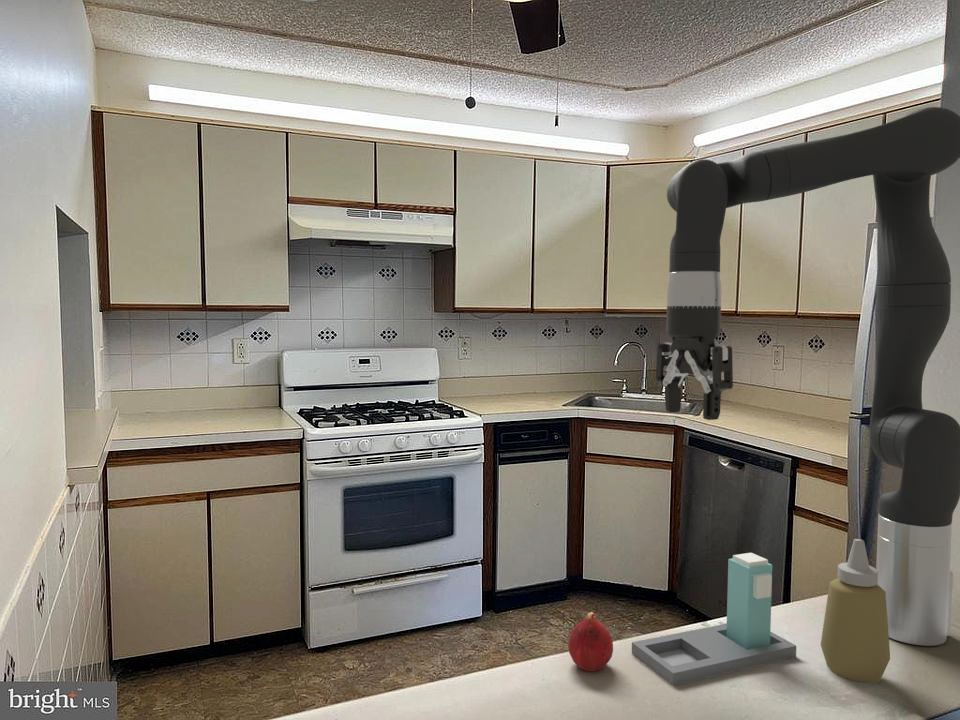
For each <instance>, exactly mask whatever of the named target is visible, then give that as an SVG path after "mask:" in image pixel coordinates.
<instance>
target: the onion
mask: <svg viewBox="0 0 960 720" xmlns="http://www.w3.org/2000/svg"><path fill="white" fill-rule="evenodd" d="M569 634H570V635H569V637H568V646H567V647H568V652H569V655H570V658H571V659H572V661H573V663H574V664H575V665H576V666H577V667H578V668H580V669H581V670H583V671H584V672H585V671H586V672H598V671H600V670H601V669H603V668H604V667H605V666H606V665H607V664H608V663H609V662H610V660H611V658H612V657H613V653H614V644H613V643H614V642H613V638H612V635H611V632H610V631H609V630H608V628H607V627H606V626H605V625H604V624H603V623H602V622H601V621H599V620H598V619H597V614H595V613H594V612H593V611H591V612H588V613H587V616H586V617H585V619H583V620H582V621H580V622H578V623H577V624H576V625H575V626H574V627H573V628H572V630H571V632H570V633H569Z"/></svg>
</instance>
